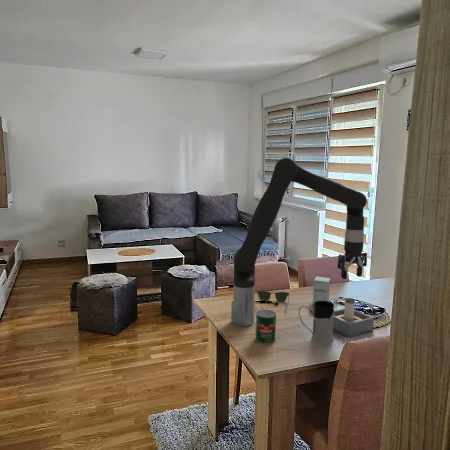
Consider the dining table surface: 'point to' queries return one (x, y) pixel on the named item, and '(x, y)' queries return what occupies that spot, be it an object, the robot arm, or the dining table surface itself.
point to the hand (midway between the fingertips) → (351, 277)
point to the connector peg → (349, 309)
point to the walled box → (352, 323)
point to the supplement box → (321, 289)
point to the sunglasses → (279, 297)
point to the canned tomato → (265, 326)
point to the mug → (322, 322)
